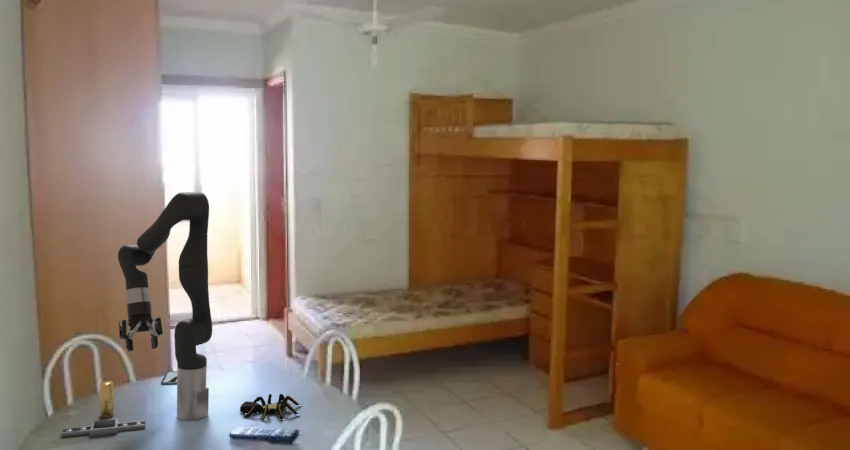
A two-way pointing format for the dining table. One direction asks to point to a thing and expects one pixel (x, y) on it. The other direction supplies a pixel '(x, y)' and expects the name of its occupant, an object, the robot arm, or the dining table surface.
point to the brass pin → (106, 399)
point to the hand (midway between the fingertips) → (142, 349)
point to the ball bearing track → (103, 431)
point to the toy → (268, 406)
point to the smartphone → (169, 378)
